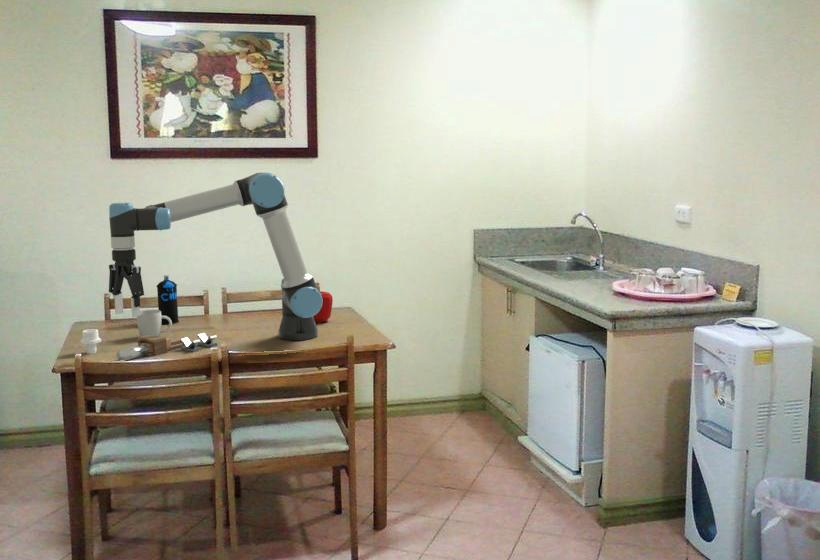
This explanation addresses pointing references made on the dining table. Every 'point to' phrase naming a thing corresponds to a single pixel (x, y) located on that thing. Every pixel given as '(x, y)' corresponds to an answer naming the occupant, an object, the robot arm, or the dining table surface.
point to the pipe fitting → (90, 340)
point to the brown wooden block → (150, 344)
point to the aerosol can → (168, 300)
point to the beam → (158, 344)
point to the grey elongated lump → (132, 352)
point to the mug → (151, 323)
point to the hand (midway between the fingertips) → (127, 314)
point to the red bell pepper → (324, 308)
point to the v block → (198, 343)
